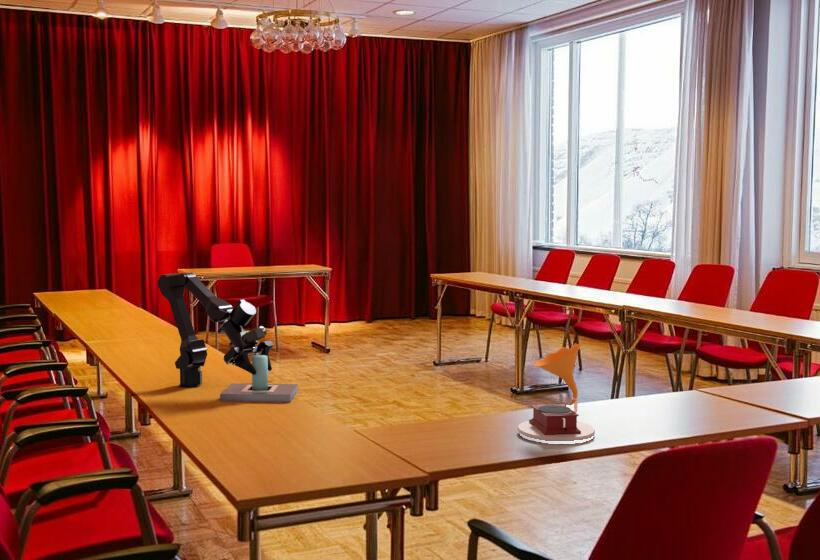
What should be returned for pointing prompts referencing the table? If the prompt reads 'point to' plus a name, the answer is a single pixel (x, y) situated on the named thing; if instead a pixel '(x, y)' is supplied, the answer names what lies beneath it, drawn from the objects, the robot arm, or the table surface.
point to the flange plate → (259, 393)
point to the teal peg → (260, 373)
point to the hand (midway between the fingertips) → (263, 372)
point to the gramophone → (558, 418)
